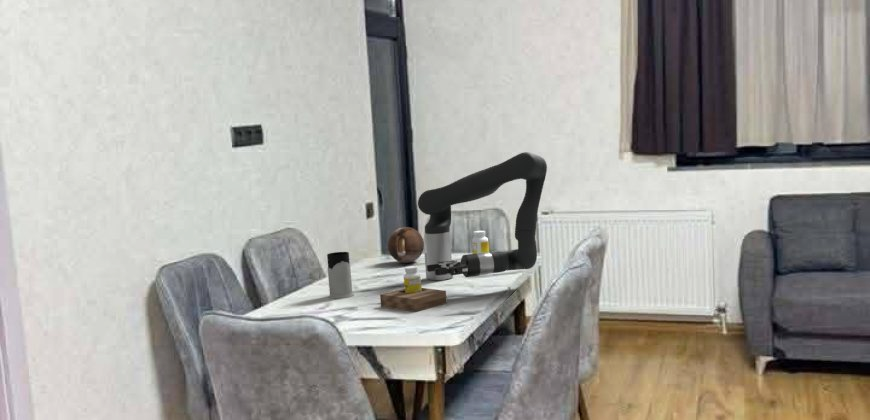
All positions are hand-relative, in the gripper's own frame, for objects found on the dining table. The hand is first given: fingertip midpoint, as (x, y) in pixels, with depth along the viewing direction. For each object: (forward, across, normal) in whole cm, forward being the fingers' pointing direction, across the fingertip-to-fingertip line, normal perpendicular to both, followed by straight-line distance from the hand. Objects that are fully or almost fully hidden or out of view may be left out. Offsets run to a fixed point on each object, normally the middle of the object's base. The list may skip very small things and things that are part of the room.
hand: (431, 270), depth 290 cm
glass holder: (+25, -30, +10) cm, 40 cm away
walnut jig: (+8, +3, +10) cm, 13 cm away
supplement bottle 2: (-40, -58, +10) cm, 71 cm away
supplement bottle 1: (+6, 0, +8) cm, 10 cm away
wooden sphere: (-15, -81, +10) cm, 83 cm away
